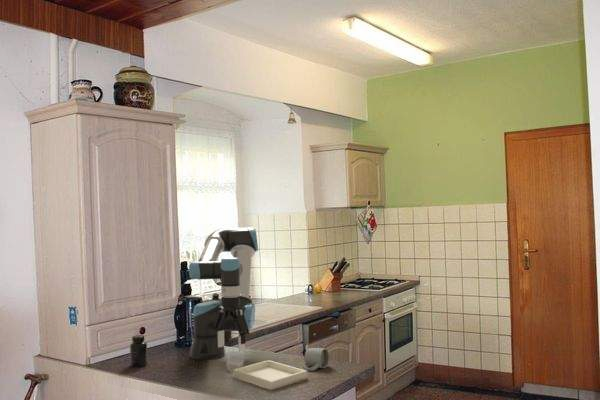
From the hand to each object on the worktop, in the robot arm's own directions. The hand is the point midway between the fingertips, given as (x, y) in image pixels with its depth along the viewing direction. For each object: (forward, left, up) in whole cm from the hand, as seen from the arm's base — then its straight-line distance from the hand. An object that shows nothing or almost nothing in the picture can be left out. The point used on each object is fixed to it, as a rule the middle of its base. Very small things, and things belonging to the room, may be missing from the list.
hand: (231, 349), depth 225 cm
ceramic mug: (+24, +24, -8) cm, 35 cm away
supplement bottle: (-33, -23, -8) cm, 41 cm away
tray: (+21, +2, -8) cm, 22 cm away
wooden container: (-49, +28, -8) cm, 57 cm away
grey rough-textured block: (+1, +1, -8) cm, 8 cm away
